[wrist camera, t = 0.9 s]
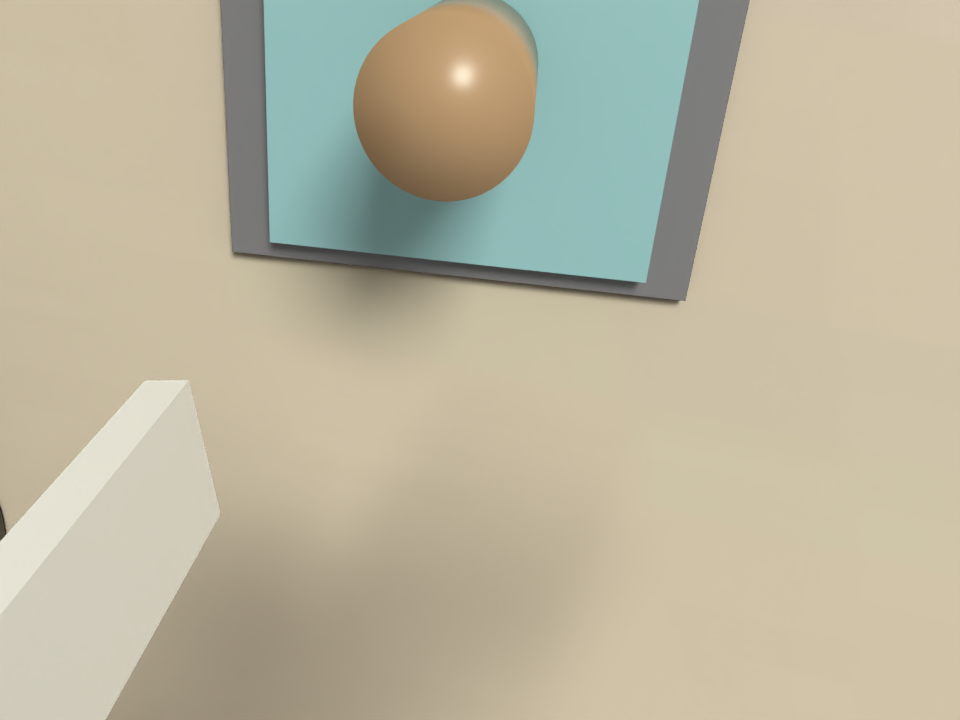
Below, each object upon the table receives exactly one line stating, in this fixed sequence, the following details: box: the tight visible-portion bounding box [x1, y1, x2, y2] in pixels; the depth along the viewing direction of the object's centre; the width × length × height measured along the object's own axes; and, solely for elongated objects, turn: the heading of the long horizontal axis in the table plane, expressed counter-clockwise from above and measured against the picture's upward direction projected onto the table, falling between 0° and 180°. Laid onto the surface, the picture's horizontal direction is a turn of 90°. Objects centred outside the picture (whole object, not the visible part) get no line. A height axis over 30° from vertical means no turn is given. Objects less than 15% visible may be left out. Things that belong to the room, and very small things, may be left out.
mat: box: [221, 0, 749, 301], centre depth 33 cm, size 20×18×1 cm
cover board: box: [264, 0, 699, 283], centre depth 28 cm, size 16×16×11 cm
